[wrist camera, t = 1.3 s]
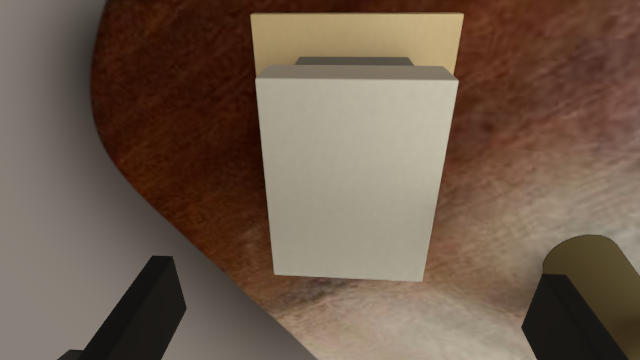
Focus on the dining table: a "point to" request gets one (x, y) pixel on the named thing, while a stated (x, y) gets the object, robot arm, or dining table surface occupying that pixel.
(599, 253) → the pepper shaker
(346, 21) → the grey stack
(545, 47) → the dining table surface
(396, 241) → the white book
